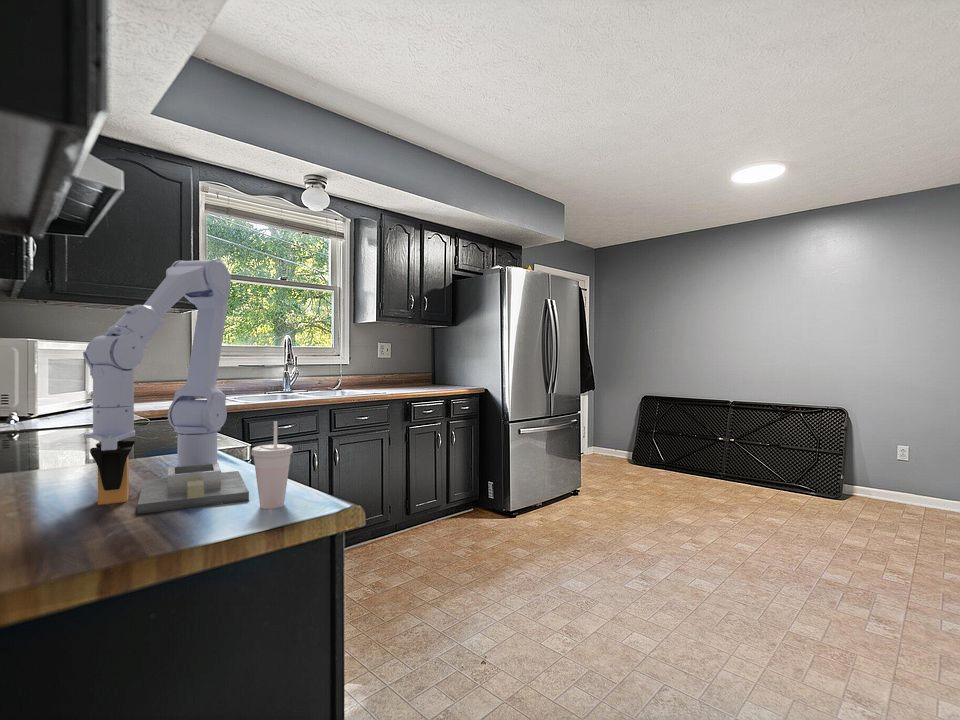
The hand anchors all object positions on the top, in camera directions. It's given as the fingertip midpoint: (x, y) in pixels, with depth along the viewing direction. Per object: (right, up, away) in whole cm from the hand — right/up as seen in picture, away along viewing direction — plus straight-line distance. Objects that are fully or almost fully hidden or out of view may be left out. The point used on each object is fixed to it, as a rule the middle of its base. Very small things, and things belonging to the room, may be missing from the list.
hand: (113, 485), depth 90 cm
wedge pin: (0, -2, 0) cm, 2 cm away
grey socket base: (+11, -2, +4) cm, 12 cm away
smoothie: (+28, -3, -2) cm, 28 cm away
